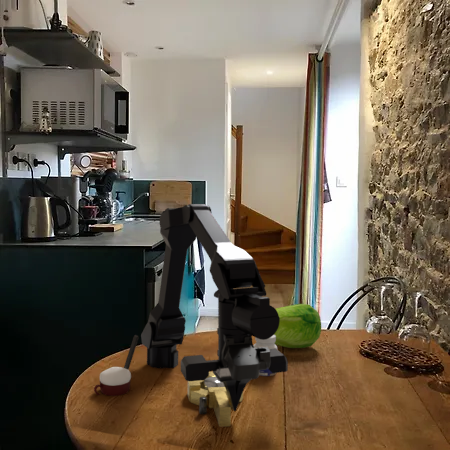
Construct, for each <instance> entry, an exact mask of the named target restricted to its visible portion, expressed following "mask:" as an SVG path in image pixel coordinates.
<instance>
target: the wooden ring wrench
mask: <svg viewBox="0 0 450 450" xmlns="http://www.w3.org/2000/svg"><path fill="white" fill-rule="evenodd" d="M209 377H216V376H215V375H214V373H213V371H209V376H208V377H207V378H209ZM200 397H207V408H208V409H213V410H214V414H215V416H216V421H217V425H218V427H220V428H221V427H222V428H223V427H225V428H226V427H231V424H232V423H231V422H232V421H231V420H232V419H231V418H232V417H231V415H232V405H231V402H230V399H229V397H228V394H227V391H226V388H225V387H208V390H205V389H204V380H199V381H187V398H188V402H190V403H191V404H194V405H197V406H199V399H200ZM243 400H244V392H243V393H242V395H241V398H240V401H239V403H241V402H243Z"/></svg>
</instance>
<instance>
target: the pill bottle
mask: <svg viewBox="0 0 450 450" xmlns="http://www.w3.org/2000/svg"><path fill="white" fill-rule="evenodd" d="M254 339H255V343H253V346H254V348H261V347H268V348H269V349H274V348H276V349H277V350H278V345H275V344H274V343H275V341H276V336H275V335H273V336H272V337H270V338H268V339H265V340H262V339H258V338H256V337H254ZM275 375H277V373H272V372H271V371H270V370H269V369H268V368H267V369H266V370H260V371H259V376H261V377H271V376H275Z"/></svg>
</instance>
